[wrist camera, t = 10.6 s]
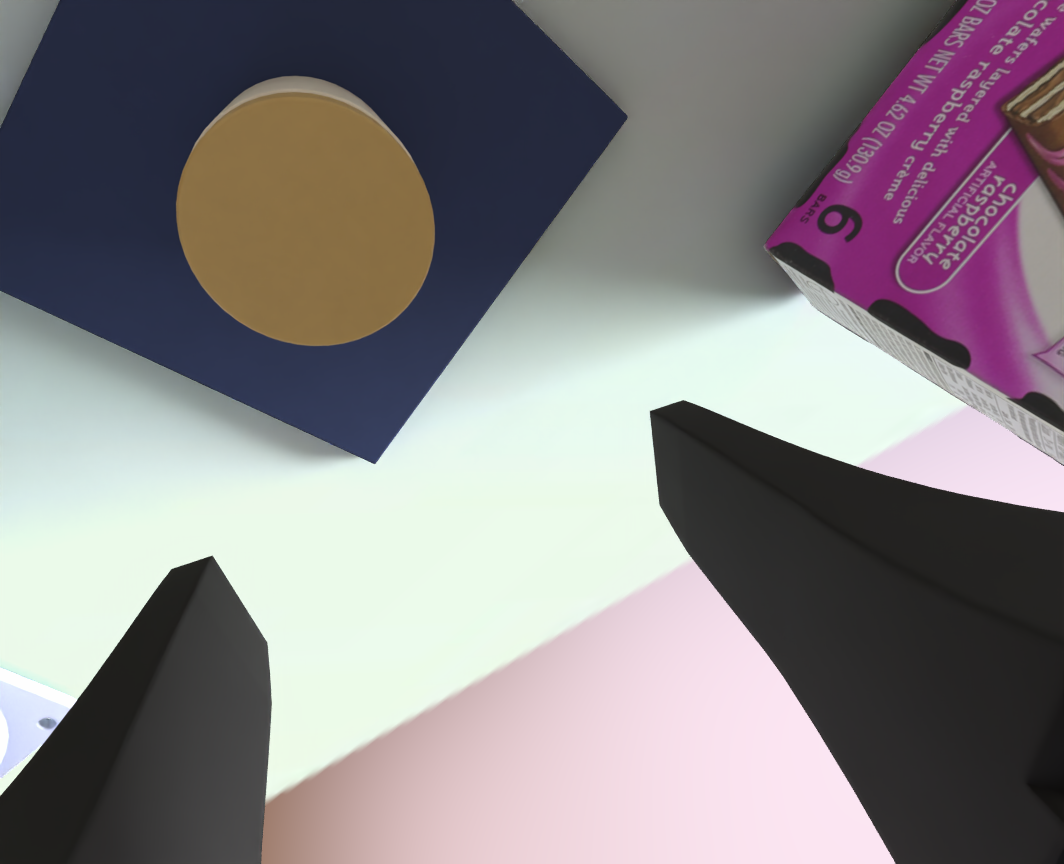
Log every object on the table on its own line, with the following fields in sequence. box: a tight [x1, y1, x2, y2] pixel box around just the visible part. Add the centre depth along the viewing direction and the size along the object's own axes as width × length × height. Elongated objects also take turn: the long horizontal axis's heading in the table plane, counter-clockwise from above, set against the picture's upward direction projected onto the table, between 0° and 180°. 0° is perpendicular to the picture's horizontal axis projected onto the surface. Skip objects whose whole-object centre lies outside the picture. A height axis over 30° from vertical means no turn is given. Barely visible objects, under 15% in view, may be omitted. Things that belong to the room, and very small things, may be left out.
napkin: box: [0, 0, 628, 464], centre depth 16 cm, size 12×11×1 cm
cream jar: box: [176, 76, 435, 346], centre depth 14 cm, size 4×4×5 cm
